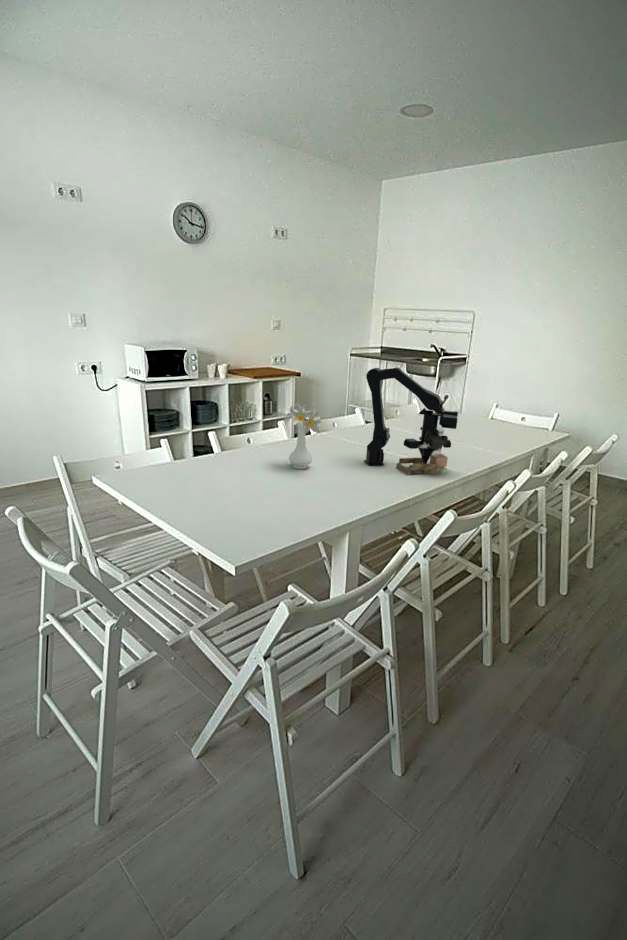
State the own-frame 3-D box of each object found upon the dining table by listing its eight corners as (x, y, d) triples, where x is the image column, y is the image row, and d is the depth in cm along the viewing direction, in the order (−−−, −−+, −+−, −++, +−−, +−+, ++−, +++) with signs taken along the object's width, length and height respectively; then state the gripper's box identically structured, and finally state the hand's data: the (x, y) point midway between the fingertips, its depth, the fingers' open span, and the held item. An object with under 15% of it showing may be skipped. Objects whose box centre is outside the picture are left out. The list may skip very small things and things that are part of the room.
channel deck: (407, 475, 191) (408, 465, 190) (396, 467, 200) (397, 458, 199) (446, 473, 196) (447, 463, 195) (433, 465, 205) (434, 456, 204)
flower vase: (300, 476, 184) (303, 411, 176) (276, 463, 198) (277, 402, 190) (328, 471, 191) (332, 408, 183) (303, 459, 205) (305, 400, 197)
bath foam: (422, 452, 225) (427, 410, 219) (433, 451, 228) (439, 409, 222) (431, 456, 219) (437, 413, 213) (443, 455, 222) (449, 412, 216)
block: (435, 467, 196) (436, 457, 195) (429, 463, 201) (430, 454, 200) (446, 466, 198) (447, 457, 197) (440, 463, 202) (441, 453, 201)
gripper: (418, 431, 183) (414, 470, 187) (461, 430, 188) (455, 468, 193) (405, 424, 193) (400, 462, 198) (446, 424, 198) (440, 460, 203)
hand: (424, 463), depth 197 cm, fingers closed
